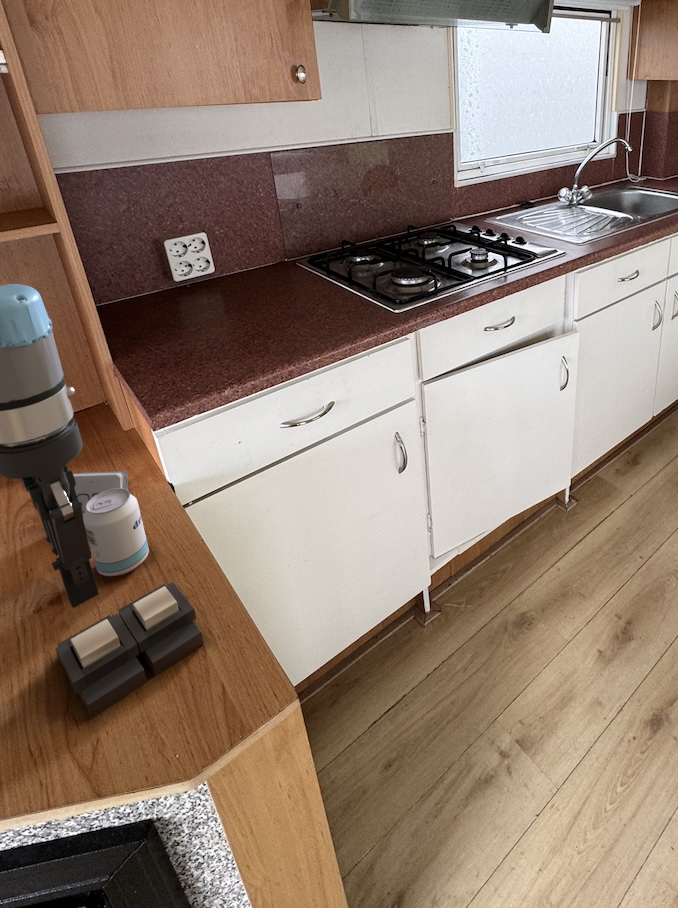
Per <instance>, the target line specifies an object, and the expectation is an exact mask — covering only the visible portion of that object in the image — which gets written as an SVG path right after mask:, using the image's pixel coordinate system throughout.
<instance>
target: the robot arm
mask: <svg viewBox="0 0 678 908" xmlns="http://www.w3.org/2000/svg"><path fill="white" fill-rule="evenodd" d="M58 351H59V350H58V347H57V343H56V341H55V335H54V333H53V322H52V319H51V318H49V315H48V311H47V310H46V306H45V304H44V301H43V299H42V296H41V294H40V292H39V291H38V290H37V289H35V288H33V287H32V286H29V285H25V284H20V283H7V284H3V285H2V284H1V285H0V476H2V477H4V478H6V479H13V480H19V479H20V480H21V482H22V485H23V487H24V489H25V490H26V492H27V493H28V494H29V497H30V501H31V503H32V505H33V507H34V509H35V510H37V513H38V515H39V518H40V519H39V520H40V521H41V524H42V527H43V530H44V533H45V535H46V537H45V539H46V542H47V543H48V544H50V545H51V552H52V554H53V555H55V556H57V557H56V558H55V561H53V562H51V566H52V568H53V570H54V572H56V571H57V570H59V574H60V577H61V580H62V584H63V586H64V590H65V593H66V597H67V599H68V602H69V605H70V606H71V607H72V609H74V608H77V607H78V606H80V605H82V604H84V603H85V602H87V601H90V600H91V599H93V598H95V597H96V596H99V595H100V591H99V589H98V585H97V582H96V579H95V575H94V572H93V568H92V564H91V559H92V557H93V554H92V551H91V547H90V543H89V540H88V536H87V533H86V530H85V526H84V521H83V517H82V503H81V501H80V500H78V499H77V496H76V492H75V489H74V487H75V485H76V482H75V478H74V475H73V474H74V473H73V471H72V469H70V470H69V469H68V466H67V465H68V464H69V463H71V462H72V461H73V460H75V459H76V457H78V455H80V453H81V452H82V449H83V446H84V444H83V440H82V436H81V432H80V428H79V425H78V421H77V419H76V418H74V408H73V405H72V402H71V400H70V398H69V397H71V396H73V395H75V393H76V390H75V388H74V387H73V386H68V387H67V383H66V379H65V375H64V371H63V367H62V363H61V359H60V355H59V352H58Z"/></svg>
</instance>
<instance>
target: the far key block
mask: <svg viewBox="0 0 678 908" xmlns="http://www.w3.org/2000/svg"><path fill="white" fill-rule="evenodd" d="M164 586H165V587H166V588H167V590H168V591H169V592H170V594H171V595H172V596H173V598H174V599H175V600H176V602H177V605H178V610H179V611H178V612H176V613H175V614H173V615H171V616H170V617H168V618H166V619H165V620H163V621H161V622H160V623H158V624H156V625H155V626H153V627H151V628H150V629H148V630H146V629H145V627H144V626H143V624H142V623H141V622H140V620H139V619H138V617H137V616H136V614H135V611H134V607H133V604H134V603H136V602H137V601H139V600H141V599H143V598H145V597H146V596H148V595H150V594H152V593H153V592H155V591H157V590H159V589H160V588H162V587H164ZM118 614H119V616H120V618H121V619H122V621H123V622H124V624H125V625H126V627H127V629H128V630H129V632H130V633H131V635H132V636H133V638H134V640H135V641H136V643H137V645H138V649H139V653H140V654H141V655H142V656H143V658H144V660H145V662H146V663H147V664H148V666H149V667H150V669H151V671H152V673H153V674H154V676H158V675H159V674H160V673H162V672H164V671H165V670H167V669H168V668H170V667H171V666H173V665H174V664H176V663H177V662H179V661H181V660H182V659H183V658H185V657H186V656H188V655H189V654H192V652H194V651H195V650H197V649H198V648H200V647H202V646H203V645H204V644H205V643H204V637H203V633H202V631H201V629H200V628H199V626H198V625H197V624H196V622H195V621H194V620H196V619H197V616H196V615H197V614H196V610H195V608H194V606H193V604H192V603H190V601H189V600H188V599H187V597H186V596H185V595H184V594H183V592H182V591H181V590H180V588H179V587H178V586H177V585H176V583H175V582H174V581H172V582H170V583H168V584H166V583H164V584H162V585H160V586H158V587H156V588H155V589H152V590H151V591H149V592H148V593H146V594H144V595H142V596H140V597H139V598H136V599H135V600H134V601H132V602H130V603H128V604H126V605H124V606H122V607H121V608H119V609H118Z"/></svg>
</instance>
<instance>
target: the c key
mask: <svg viewBox="0 0 678 908" xmlns="http://www.w3.org/2000/svg"><path fill="white" fill-rule="evenodd" d="M71 643H72V646H73V650H74V651H75V653H76V655H77V657H78V659H79V661H80V663H81V665H82V667H83V669H84V668H85V667H87V666H89V665H90V664H92V663H94V662H95V661H97V660H99V659H100V658H102V657H104V656H105V655H107V654H109V653H110V652H112V651H114V650H115V649H117V648H119V647H120V642H119V639H118V636H117V634H116V633H115V631H114V629H113V628H112V626H111V625H110V623H109V621H108V620H107V619H106V620H104V621H102V622H100V623H98V624H97V625H95V626H93V627H91V628H90V629H88V630H86V631H84V632H83V633H81V634H79V635H77V636H76V637H74V638H72V639H71Z"/></svg>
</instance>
